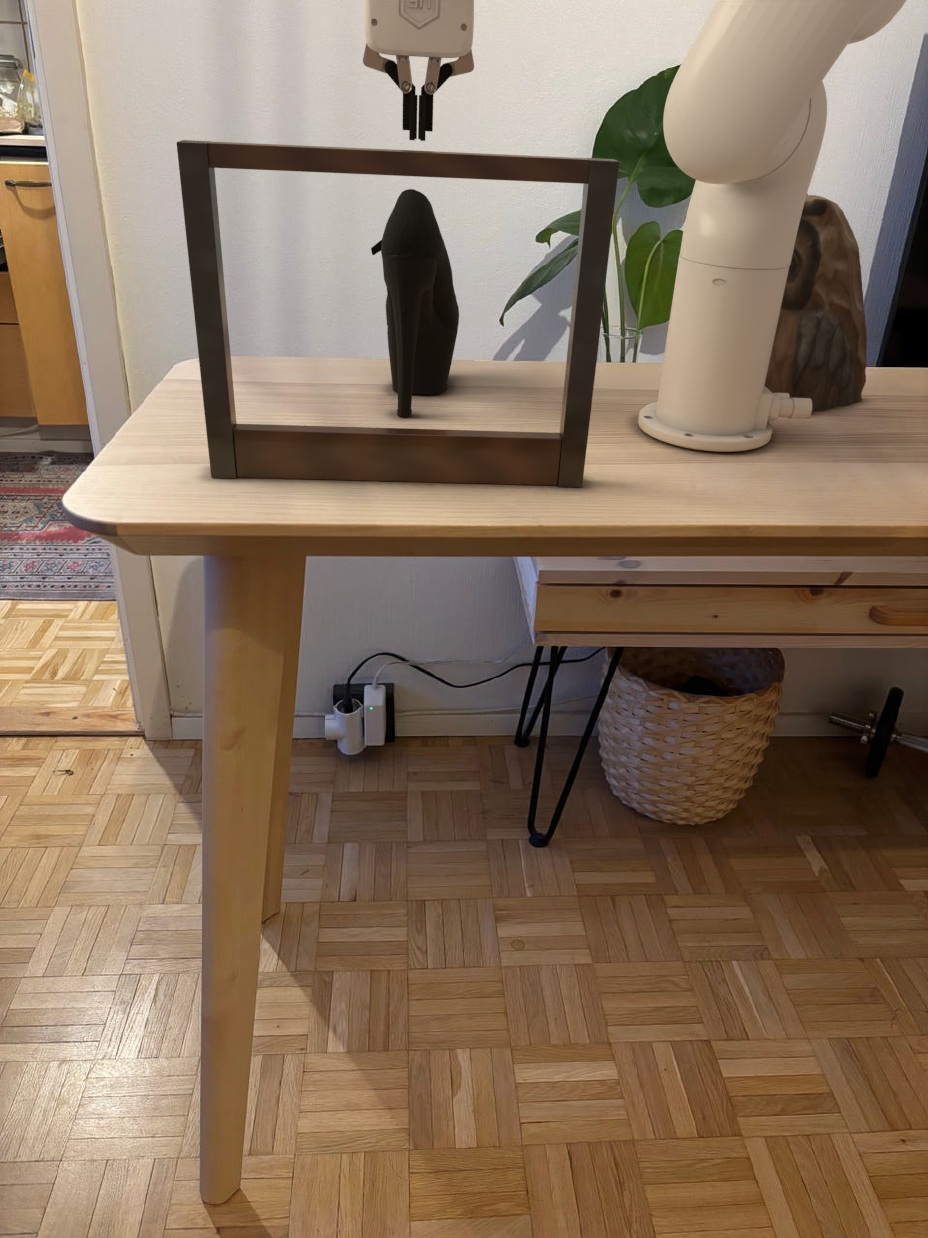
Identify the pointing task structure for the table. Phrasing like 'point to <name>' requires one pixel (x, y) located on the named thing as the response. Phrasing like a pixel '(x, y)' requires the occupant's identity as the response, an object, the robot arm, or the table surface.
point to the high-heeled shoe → (417, 300)
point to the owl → (821, 313)
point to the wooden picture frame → (393, 448)
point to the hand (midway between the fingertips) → (417, 138)
